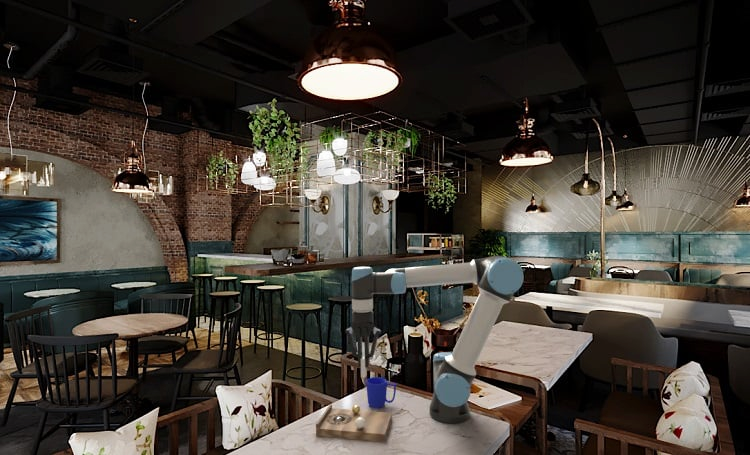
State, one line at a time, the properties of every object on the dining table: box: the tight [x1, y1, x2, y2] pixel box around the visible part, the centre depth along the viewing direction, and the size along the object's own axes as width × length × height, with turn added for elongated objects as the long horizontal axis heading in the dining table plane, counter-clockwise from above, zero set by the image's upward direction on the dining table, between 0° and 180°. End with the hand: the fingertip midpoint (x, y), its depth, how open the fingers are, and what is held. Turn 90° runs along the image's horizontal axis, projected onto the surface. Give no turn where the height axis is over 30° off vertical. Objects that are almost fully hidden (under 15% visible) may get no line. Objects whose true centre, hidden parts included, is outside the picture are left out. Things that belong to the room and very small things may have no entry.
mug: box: [365, 376, 397, 409], centre depth 161 cm, size 8×12×10 cm
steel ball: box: [334, 417, 343, 422], centre depth 145 cm, size 3×3×3 cm
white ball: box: [355, 417, 365, 429], centre depth 138 cm, size 4×4×4 cm
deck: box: [315, 403, 393, 443], centre depth 144 cm, size 24×16×4 cm, turn 79°
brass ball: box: [351, 404, 361, 414], centre depth 149 cm, size 3×3×3 cm
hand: (363, 376), depth 143 cm, fingers closed
